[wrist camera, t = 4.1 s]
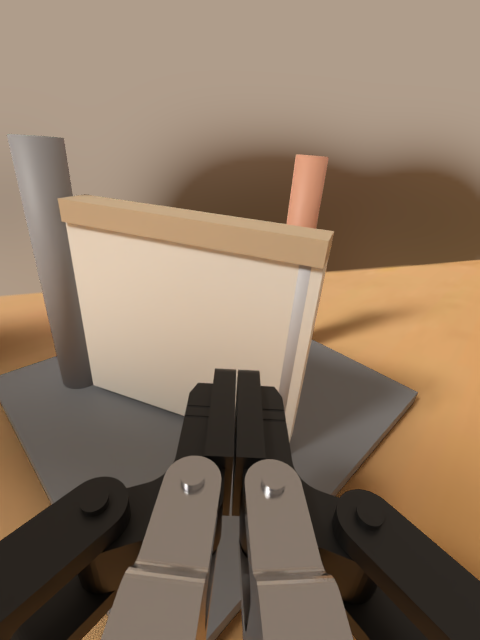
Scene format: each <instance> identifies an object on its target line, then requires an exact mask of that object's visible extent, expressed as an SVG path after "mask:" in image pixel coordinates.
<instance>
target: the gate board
mask: <svg viewBox="0 0 480 640" xmlns="http://www.w3.org/2000/svg"><path fill="white" fill-rule="evenodd" d="M7 137H8V141H9V146H10V150H11V155H12V159H13V163H14V168H15V172H16V177H17V181H18V186H19V190H20V195H21V199H22V203H23V208H24V212H25V217H26V221H27V226H28V230H29V235H30V239H31V244H32V248H33V252H34V256H35V261H36V266H37V270H38V274H39V279H40V283H41V288H42V292H43V297H44V301H45V306H46V310H47V315H48V319H49V323H50V328H51V332H52V337H53V341H54V346H55V350H56V355H57V356H56V357H53V358H50V359H47V360H44V361H41V362H38V363H35V364H32V365H29V366H26V367H23V368H20V369H17V370H14V371H11V372H8V373H5V374H2V375H0V403H1V405H2V407H3V409H4V411H5V413H6V415H7V417H8V419H9V421H10V423H11V425H12V427H13V429H14V431H15V433H16V435H17V437H18V439H19V441H20V443H21V445H22V447H23V449H24V451H25V453H26V455H27V457H28V459H29V461H30V463H31V465H32V467H33V468H34V470H35V472H36V474H37V476H38V478H39V480H40V482H41V484H42V486H43V488H44V490H45V492H46V494H47V496H48V498H49V500H50V502H51V504H53V503H55V502H56V501H57V500H59V499H60V498H62V497H63V496H64V495H66V494H67V493H69V492H70V491H72V490H73V489H74V488H76V487H77V486H79V485H80V484H82V483H83V482H85V481H88V480H90V479H93V478H96V477H104V476H106V477H113V478H116V479H118V480H120V481H121V482H122V483H123V484H124V485H125V487H126V488H129V487H132V486H136V485H140V484H144V483H148V482H151V481H153V480H155V479H157V478H159V477H160V476H162V475H163V474H164V473H166V471H167V470H168V468H169V467H170V466H171V465H172V464H173V462H174V460H175V457H176V453H177V448H178V443H179V439H180V434H181V430H182V425H183V420H184V417H185V416H183V415H180V414H177V413H174V412H171V411H168V410H165V409H162V408H159V407H157V406H154V405H151V404H148V403H145V402H142V401H139V400H136V399H133V398H130V397H127V396H124V395H121V394H118V393H115V392H112V391H109V390H107V389H104V388H101V387H98V386H95V385H93V380H92V374H91V368H90V362H89V356H88V351H87V345H86V339H85V333H84V327H83V321H82V316H81V310H80V304H79V298H78V292H77V286H76V281H75V275H74V269H73V263H72V257H71V251H70V245H69V240H68V234H67V228H66V222H62V221H61V215H60V209H59V204H58V198H64V197H71V196H73V195H72V189H71V182H70V176H69V169H68V163H67V156H66V150H65V144H64V138H57V137H46V136H32V135H15V134H7ZM327 163H328V157H323V156H311V155H299V154H296V159H295V166H294V174H293V181H292V188H291V195H290V203H289V211H288V217H287V225H294V226H301V227H308V228H314V229H316V226H317V220H318V215H319V209H320V203H321V197H322V192H323V186H324V181H325V175H326V169H327ZM417 393H418V392H416V391H414V390H412V389H410V388H408V387H406V386H404V385H402V384H400V383H398V382H396V381H394V380H392V379H390V378H388V377H386V376H384V375H382V374H380V373H378V372H376V371H374V370H372V369H370V368H368V367H366V366H364V365H362V364H360V363H358V362H356V361H354V360H352V359H350V358H348V357H346V356H344V355H342V354H340V353H338V352H336V351H334V350H332V349H330V348H328V347H326V346H324V345H322V344H320V343H318V342H316V341H314V340H311V345H310V350H309V355H308V360H307V365H306V370H305V375H304V380H303V384H302V389H301V394H300V399H299V404H298V409H297V414H296V419H295V424H294V429H293V433H292V437H291V440H290V449H291V456H292V462H293V466H294V468H295V470H296V472H297V474H298V475H299V476H300V478H301V479H302V480H303V481H304V482H305V483H307V484H308V485H309V486H311V487H313V488H315V489H317V490H319V491H322V492H324V493H327V494H330V495H333V496H336V495H337V493H338V492H339V491H340V490H341V489H342V487H343V486H344V485H345V484H346V483H347V481H348V480H349V479H350V478H351V477H352V475H353V474H354V473H355V472H356V471H357V469H358V468H359V467H360V466H361V465H362V463H363V462H364V461H365V460H366V459H367V457H368V456H369V455H370V454H371V453H372V451H373V450H374V449H375V448H376V447H377V446H378V444H379V443H380V442H381V441H382V440H383V438H384V437H385V436H386V435H387V434H388V432H389V431H390V430H391V429H392V428H393V426H394V425H395V424H396V423H397V422H398V420H399V419H400V418H401V417H402V416H403V414H404V413H405V412H406V411H407V410H408V408H409V407H410V406H411V405H412V404H413V402H414V401H415V398H416V396H417ZM232 489H233V471H232V485H231V499H230V512H229V516H222V530H221V539H220V543H219V545H218V551H217V559H216V566H215V574H214V581H213V589H212V596H211V604H210V611H209V619H208V626H207V634H206V640H215V639H216V638H217V637H218V636H219V634H220V633H221V632H222V631H223V630H224V629H225V627H226V626H227V625H228V624H229V623H230V621H231V620H232V619H233V618H234V617H235V615H236V614H237V613H238V612H239V611H240V609H241V591H240V574H239V557H238V541H239V516H232ZM111 609H112V608H111ZM111 609H110V610H109V611H108V612H107V615H108V617H109V615H110V612H111Z"/></svg>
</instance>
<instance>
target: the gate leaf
mask: <svg viewBox="0 0 480 640" xmlns="http://www.w3.org/2000/svg"><path fill="white" fill-rule="evenodd" d="M58 204H59V209H60V215H61V221H62V222H66V228H67V234H68V240H69V245H70V251H71V257H72V263H73V269H74V275H75V281H76V286H77V292H78V298H79V304H80V310H81V316H82V321H83V327H84V333H85V339H86V345H87V351H88V356H89V362H90V368H91V374H92V380H93V385H95V386H98V387H101V388H104V389H107V390H109V391H112V392H115V393H118V394H121V395H124V396H127V397H130V398H133V399H136V400H139V401H142V402H145V403H148V404H151V405H154V406H157V407H159V408H162V409H165V410H168V411H171V412H174V413H177V414H180V415H183V416H185V411H186V407H187V402H188V397H189V393H190V392H191V390H192V389H193V388H194V387H195V386H196V385H197V383H213V379H214V371H215V368H219V369H236V390H237V375H238V369H239V370H258V371H259V372H260V384H261V386H272V387H275V388H276V389H277V391H278V392H279V394H280V395H281V396H282V398H283V404H284V412H285V417H286V424H287V430H288V436H289V443H290V440H291V437H292V433H293V429H294V424H295V419H296V414H297V409H298V404H299V399H300V394H301V389H302V384H303V380H304V375H305V370H306V365H307V360H308V355H309V350H310V345H311V340H312V335H313V330H314V326H315V321H316V316H317V311H318V306H319V301H320V296H321V291H322V286H323V281H324V277H325V272H326V267H327V261H328V258H329V254H330V249H331V244H332V239H333V234H334V231H328V230H320V229H314V228H308V227H301V226H294V225H287V224H281V223H274V222H267V221H260V220H254V219H247V218H240V217H234V216H226V215H220V214H213V213H207V212H199V211H193V210H186V209H179V208H173V207H166V206H159V205H153V204H146V203H139V202H133V201H126V200H119V199H113V198H106V197H99V196H92V195H78V196H71V197H64V198H58ZM235 404H236V393H235Z"/></svg>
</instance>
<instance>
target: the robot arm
mask: <svg viewBox="0 0 480 640" xmlns="http://www.w3.org/2000/svg"><path fill="white" fill-rule="evenodd" d="M235 393H236V404H235ZM232 471H233V489H232V516H239V541H238V557H239V574H240V591H241V609H242V626H243V640H353V637H352V634H353V636H354V637H355V638H356V639H357V640H480V581H479V580H478V579H477V578H475V577H474V576H473V575H472V574H471V573H470V572H468V571H467V570H466V569H465V568H464V567H463V566H461V565H460V564H459V563H458V562H457V561H455V560H454V559H453V558H452V557H451V556H450V555H448V554H447V553H446V552H445V551H444V550H443V549H441V548H440V547H439V546H438V545H437V544H436V543H434V542H433V541H432V540H431V539H430V538H428V537H427V536H426V535H425V534H424V533H423V532H421V531H420V530H419V529H418V528H417V527H416V526H414V525H413V524H412V523H411V522H410V521H408V520H407V519H406V518H405V517H404V516H403V515H401V514H400V513H399V512H398V511H397V510H396V509H394V508H393V507H392V506H391V505H390V504H388V503H387V502H386V501H385V500H384V499H382V498H381V497H379V496H378V495H376V494H374V493H372V492H369V491H366V490H360V489H355V490H350V491H347V492H345V493H344V494H343V495H342V496H341V497H340V498H338V497H336V496H333V495H330V494H327V493H324V492H322V491H319V490H317V489H315V488H313V487H311V486H309V485H308V484H307V483H305V482H304V481H303V480H302V479H301V478H300V476H299V475H298V474H297V472H296V470H295V468H294V466H293V462H292V456H291V449H290V443H289V436H288V430H287V424H286V417H285V412H284V404H283V398H282V396H281V395H280V394H279V392H278V391H277V389H276V388H275V387H272V386H261V384H260V372H259V371H258V370H239V369H238V375H237V390H236V369H219V368H215V371H214V379H213V383H197V385H196V386H195V387H194V388H193V389H192V390H191V392H190V393H189V397H188V402H187V407H186V411H185V417H184V420H183V425H182V430H181V434H180V439H179V443H178V448H177V453H176V457H175V460H174V462H173V464H172V465H171V466H170V467H169V468H168V470H167V471H166V473H164V474H163V475H162V476H160V477H159V478H157V479H155V480H153V481H151V482H148V483H144V484H140V485H136V486H132V487H129V488H126V487H125V485H124V484H123V483H122V482H121V481H120V480H118V479H116V478H113V477H106V476H104V477H96V478H93V479H90V480H88V481H85V482H83V483H82V484H80V485H79V486H77V487H76V488H74V489H73V490H72V491H70V492H69V493H67V494H66V495H64V496H63V497H62V498H60V499H59V500H57V501H56V502H55V503H53V504H52V505H50V506H49V507H48V508H46V509H45V510H43V511H42V512H40V513H39V514H38V515H36V516H35V517H33V518H32V519H31V520H29V521H28V522H26V523H25V524H23V525H22V526H21V527H19V528H18V529H16V530H15V531H14V532H12V533H11V534H9V535H8V536H7V537H5V538H4V539H2V540H1V541H0V640H81V639H82V638H83V637H84V636H85V635H86V634H87V633H88V632H89V631H90V630H91V629H92V628H93V627H94V626H95V625H96V624H97V623H98V621H99V620H100V619H101V618H102V617H103V616H104V615H105V614H106V613H107V612H108V611H109V610H110V609H111V608H112V609H111V612H110V615H109V617H108V620H107V623H106V626H105V629H104V632H103V635H102V638H101V640H206V634H207V626H208V619H209V611H210V604H211V596H212V589H213V581H214V574H215V566H216V559H217V551H218V545H219V543H220V539H221V530H222V516H229V512H230V499H231V485H232Z"/></svg>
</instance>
